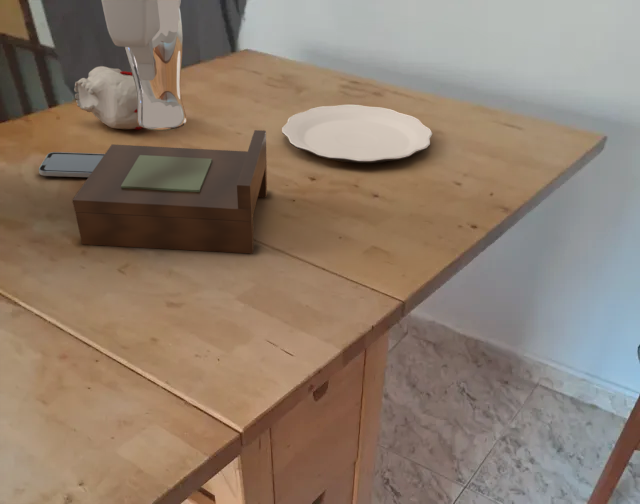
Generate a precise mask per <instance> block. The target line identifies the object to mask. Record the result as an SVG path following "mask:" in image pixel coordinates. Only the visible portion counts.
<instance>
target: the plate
mask: <svg viewBox="0 0 640 504" xmlns="http://www.w3.org/2000/svg"><path fill="white" fill-rule="evenodd" d="M281 133H282V135H283V136H285V137H286V138H287V139H288V141H289V144H290V145H292V146H293V147H294V148H296V149H298V150H301V151H305V152H307V153H311V154H313V155H315V156H317V157H319V158H324V159H327V160H331V161H336V162H337V161H338V162H344V163H352V164H377V163H384V162H390V161H400V160H403V159H408V158H409V157H411V156H413V155H414V154H416V153H419V152H422V151H425V150H426V149H428V148H429V147H430V146H431V138H432V136H433V132H432V130H431V129H430V127H428V126H426V125H424V124H423V123H422V121H421V120H420V119H419V118H417V117H415V116H414V115H413V116H412V115H410V114H406V113H402V112H399V111H396V110H394V109H391V108H386V107H381V106H368V105H361V104H339V105H324V106H322V105H321V106H317V107H311V108H310V109H307V110H305V111H301V112H297V113H294V114H293V115H291V116H290V117H288V118H287V122H286V123H285V124H284V125H283V126H282V127H281Z"/></svg>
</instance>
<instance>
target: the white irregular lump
mask: <svg viewBox="0 0 640 504" xmlns="http://www.w3.org/2000/svg"><path fill="white" fill-rule="evenodd" d="M73 90H74V93H75V94H74V98H75V99H76V100H75V103H76V106H77V107H78V108H79V109H80V110H82V111H85V112H87V113H92V114H93V115H94V116H95V118H96V119H98V120H99V121H100V122H101V123H103V124H104V125H106V126H107V127H109V128H111V129H118V130H137V131H139V130H142V129H144V128H143V127H141V126H140V125H139V124H138V122H137V106H138V103H137V91H136V86H135V82H134V78H133V75H132V72H131V71H122V70H121V69H119V68H112V67H107V66H105V65H104V66H103V65H100V66H96V67H94V68H93V69H91V70H90V71H89V72H88V77H87V78H85V77H82V78H80V79H79V80H77V81H75V83H74V88H73Z"/></svg>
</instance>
